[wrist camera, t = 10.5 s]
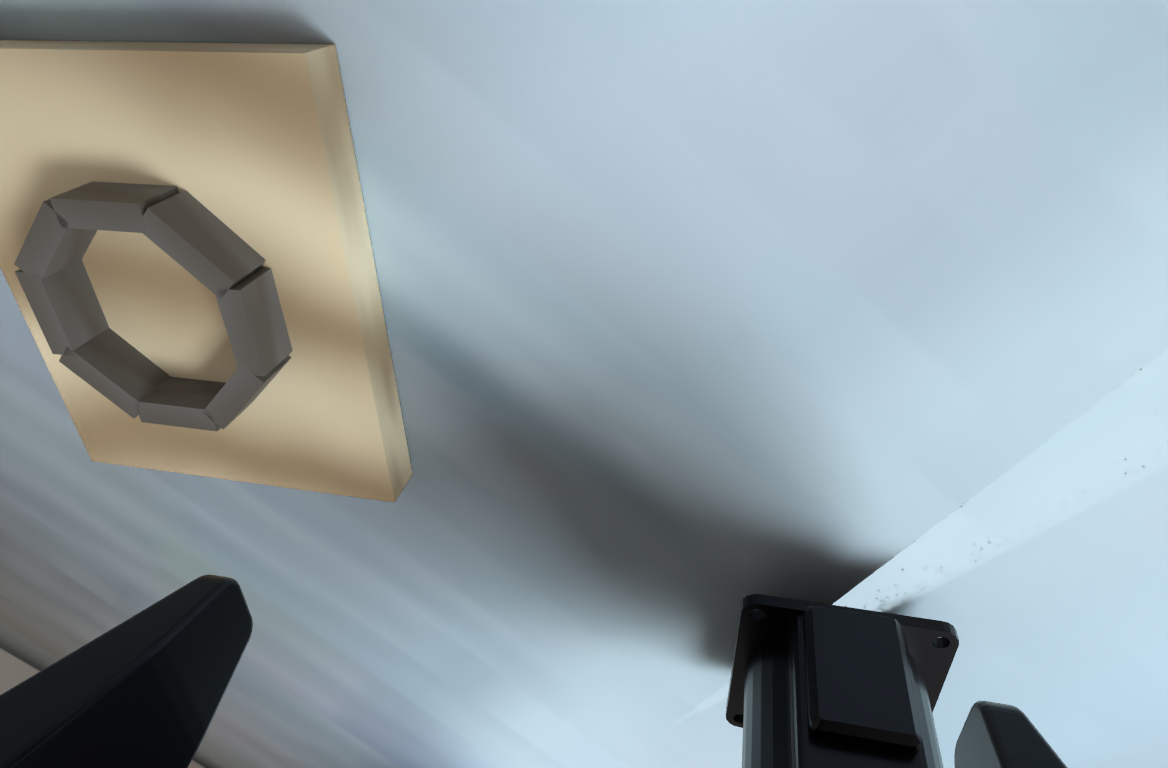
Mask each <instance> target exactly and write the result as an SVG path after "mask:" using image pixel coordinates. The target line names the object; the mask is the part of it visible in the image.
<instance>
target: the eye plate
mask: <svg viewBox="0 0 1168 768" xmlns="http://www.w3.org/2000/svg"><path fill="white" fill-rule="evenodd" d="M0 267H1V270H2V272H3V274H4V276H5V278H6V280H7V282H8V284H9V286H10V289H11V291H12V293H13V295H14V297H15V299H16V301H17V303H18V306H19V308H20V310H21V312H22V314H23V316H24V318H25V320H26V322H27V325H28V327H29V329H30V331H31V333H32V335H33V337H34V339H35V341H36V344H37V346H38V348H39V350H40V352H41V354H42V356H43V358H44V361H45V363H46V365H47V367H48V369H49V371H50V373H51V375H52V377H53V380H54V382H55V384H56V386H57V388H58V390H59V392H60V394H61V396H62V399H63V401H64V403H65V405H66V407H67V409H68V411H69V413H70V416H71V418H72V420H73V422H74V424H75V426H76V428H77V430H78V432H79V435H80V437H81V439H82V441H83V443H84V445H85V447H86V449H87V451H88V454H89V456H90V458H91V460H92V461H95V462H103V463H110V464H117V465H125V466H132V467H139V468H147V469H154V470H161V471H169V472H176V473H183V474H190V475H198V476H205V477H212V478H220V479H227V480H234V481H242V482H249V483H256V484H264V485H271V486H278V487H286V488H293V489H300V490H308V491H315V492H322V493H330V494H337V495H344V496H352V497H359V498H366V499H374V500H381V501H388V502H396V500H397V498H398V497H399V495H400V494H401V492H402V491H403V489H404V487H405V486H406V484H407V483H408V481H409V480H410V478H411V476H412V475H413V474H412V468H411V463H410V457H409V452H408V446H407V441H406V435H405V429H404V424H403V418H402V413H401V407H400V402H399V396H398V391H397V385H396V379H395V374H394V368H393V363H392V357H391V352H390V346H389V341H388V335H387V329H386V324H385V318H384V313H383V307H382V302H381V296H380V291H379V285H378V279H377V274H376V268H375V263H374V257H373V252H372V246H371V241H370V235H369V229H368V224H367V218H366V213H365V207H364V202H363V196H362V191H361V185H360V179H359V174H358V168H357V163H356V157H355V152H354V146H353V141H352V135H351V129H350V124H349V118H348V113H347V107H346V102H345V96H344V91H343V85H342V79H341V74H340V68H339V63H338V57H337V52H336V46H335V44H267V43H192V42H118V41H44V40H0Z"/></svg>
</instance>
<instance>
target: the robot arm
mask: <svg viewBox="0 0 1168 768" xmlns="http://www.w3.org/2000/svg"><path fill="white" fill-rule="evenodd" d="M753 609H759V610H753ZM252 626H253V622H252V617H251V614H250V611H249V609H248V606H247V604H246V601H245V598H244V596H243V593H242V591H241V588H240V586H239V584H238V582H237V581H236V580H234V579H232V578H228V577H222V576H216V575H204V576H201V577H199V578H197V579H195V580H193V581H192V582H190V583H188V584H187V585H185V586H183V587H182V588H180V589H178V590H177V591H175V592H173V593H172V594H170V595H168V596H166V597H165V598H163V599H161V600H160V601H158V602H156V603H155V604H153V605H151V606H150V607H148V608H146V609H145V610H143V611H141V612H140V613H138V614H136V615H135V616H133V617H131V618H129V619H128V620H126V621H124V622H123V623H121V624H119V625H118V626H116V627H114V628H113V629H111V630H109V631H108V632H106V633H104V634H103V635H101V636H99V637H98V638H96V639H94V640H92V641H91V642H89V643H87V644H86V645H84V646H82V647H81V648H79V649H77V650H76V651H74V652H72V653H71V654H69V655H67V656H66V657H64V658H62V659H61V660H59V661H57V662H55V663H54V664H52V665H50V666H49V667H47V668H45V669H44V670H42V671H40V672H39V673H37V674H35V675H34V676H32V677H30V678H29V679H27V680H25V681H24V682H22V683H20V684H19V685H17V686H15V687H13V688H12V689H10V690H8V691H7V692H5V693H4V694H2V695H0V768H188V766H189V764H190V762H191V760H192V759H193V757H194V755H195V753H196V751H197V750H198V748H199V746H200V744H201V742H202V740H203V738H204V736H205V734H206V732H207V730H208V727H209V725H210V723H211V721H212V719H213V717H214V715H215V712H216V710H217V708H218V706H219V704H220V702H221V699H222V697H223V695H224V693H225V691H226V689H227V687H228V684H229V682H230V680H231V678H232V676H233V674H234V672H235V669H236V667H237V665H238V663H239V661H240V659H241V656H242V654H243V652H244V650H245V648H246V646H247V644H248V641H249V639H250V636H251V633H252ZM937 637H942V638H937ZM958 646H959V640H958V636H957V632H956V629H955V628H954V626H952V625H951V624H949V623H947V622H943V621H937V620H930V619H924V618H917V617H910V616H903V615H896V614H890V613H883V612H876V611H869V610H862V609H856V608H849V607H842V606H835V605H828V604H822V603H815V602H808V601H801V600H794V599H788V598H781V597H774V596H767V595H760V594H752V595H748V596H746V597H745V598H743V600H742V602H741V609H740V616H739V623H738V630H737V637H736V644H735V651H734V658H733V664H732V671H731V678H730V685H729V692H728V699H727V707H726V719H727V721H728V722H729V723H730V724H732V725H734V726H737V727H742V728H743V751H742V768H943V764H942V759H941V754H940V749H939V744H938V740H937V735H936V730H935V725H934V720H933V715H932V712H933V710H934V707H935V704H936V702H937V699H938V697H939V694H940V692H941V689H942V687H943V684H944V681H945V679H946V676H947V674H948V671H949V669H950V666H951V664H952V661H953V658H954V656H955V653H956V651H957V648H958ZM955 768H1067V767H1066V765H1065V764H1064V763H1063V762H1062V760H1061V759H1060V758H1059V757H1058V755H1057V754H1056V753H1055V752H1054V750H1053V749H1052V748H1051V747H1050V745H1049V744H1048V743H1047V742H1046V740H1045V739H1044V738H1043V737H1042V735H1041V734H1040V733H1039V732H1038V730H1037V729H1036V728H1035V727H1034V725H1033V724H1032V723H1031V722H1030V720H1029V719H1028V718H1027V717H1026V715H1025V714H1024V713H1023V712H1022V711H1021V710H1019V709H1018V708H1016V707H1014V706H1011V705H1006V704H1000V703H993V702H987V701H978V702H976V703H975V704H974V705H973V707H972V708H971V710H970V713H969V715H968V717H967V720H966V722H965V724H964V727H963V729H962V731H961V734H960V736H959V738H958V740H957V743H956V748H955Z"/></svg>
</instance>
